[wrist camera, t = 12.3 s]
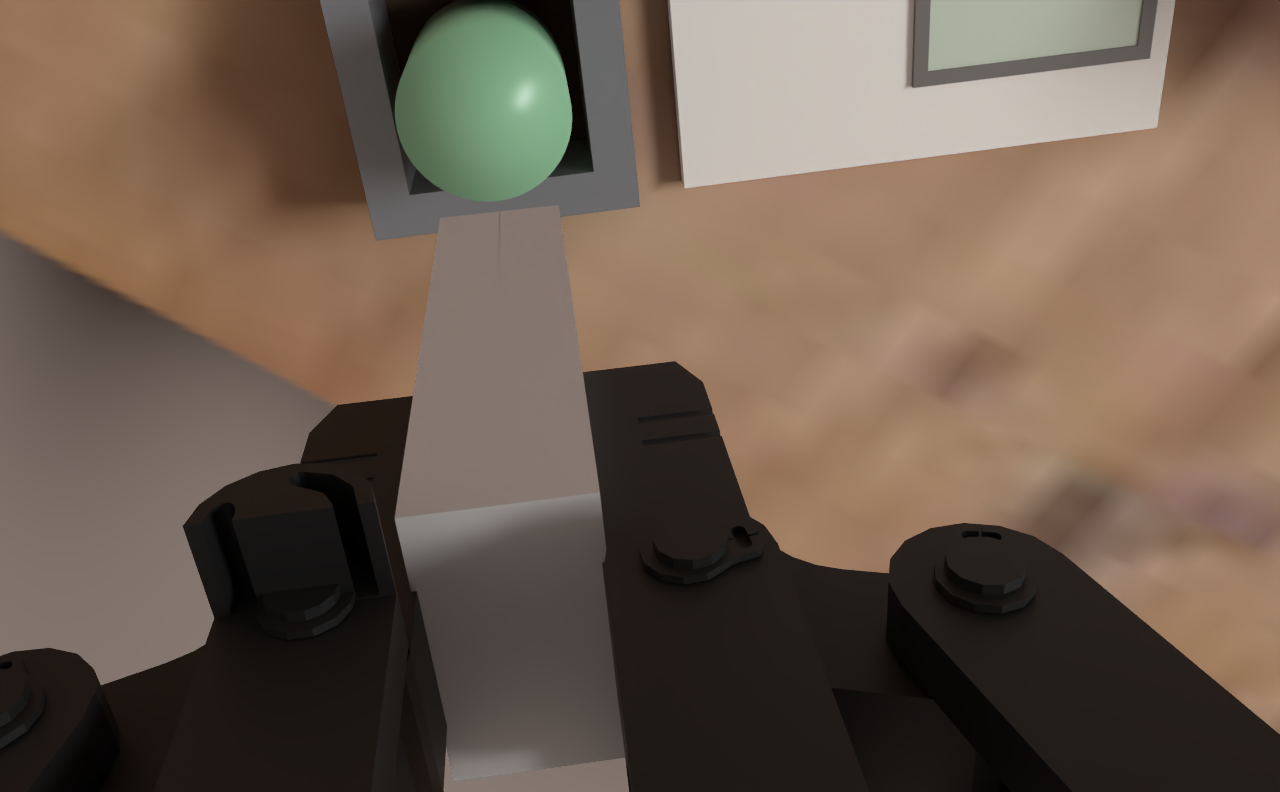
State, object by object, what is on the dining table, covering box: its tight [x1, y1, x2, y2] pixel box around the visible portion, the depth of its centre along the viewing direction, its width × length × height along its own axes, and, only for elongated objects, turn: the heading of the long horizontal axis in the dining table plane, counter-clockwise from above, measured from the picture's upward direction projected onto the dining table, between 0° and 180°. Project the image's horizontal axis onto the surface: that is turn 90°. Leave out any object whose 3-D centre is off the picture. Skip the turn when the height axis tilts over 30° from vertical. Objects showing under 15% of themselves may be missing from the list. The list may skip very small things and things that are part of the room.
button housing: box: [320, 0, 640, 241], centre depth 28 cm, size 7×7×3 cm
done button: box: [395, 0, 572, 202], centre depth 26 cm, size 4×4×4 cm
